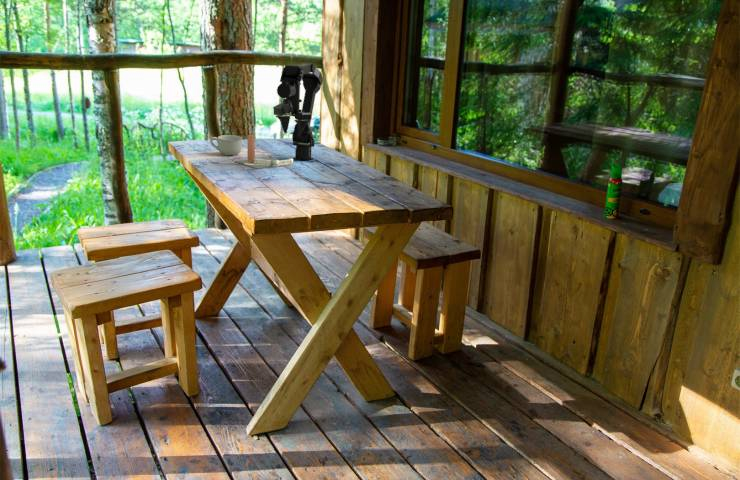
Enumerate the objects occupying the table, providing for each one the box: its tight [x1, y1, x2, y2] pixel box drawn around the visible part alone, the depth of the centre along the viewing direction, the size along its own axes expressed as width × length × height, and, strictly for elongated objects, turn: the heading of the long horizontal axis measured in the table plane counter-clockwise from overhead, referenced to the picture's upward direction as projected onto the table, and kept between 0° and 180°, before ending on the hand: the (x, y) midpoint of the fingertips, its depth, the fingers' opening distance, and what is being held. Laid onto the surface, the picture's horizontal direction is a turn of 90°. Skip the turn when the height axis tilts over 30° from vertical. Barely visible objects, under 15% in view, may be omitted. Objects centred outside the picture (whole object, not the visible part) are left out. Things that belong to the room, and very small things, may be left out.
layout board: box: [234, 157, 291, 170], centre depth 255 cm, size 19×17×1 cm
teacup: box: [209, 134, 243, 156], centre depth 268 cm, size 14×11×8 cm
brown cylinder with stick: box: [247, 134, 275, 165], centre depth 249 cm, size 12×3×11 cm, turn 72°
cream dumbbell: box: [274, 158, 294, 168], centre depth 253 cm, size 9×2×2 cm, turn 135°
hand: (291, 134), depth 251 cm, fingers open, 9 cm apart
